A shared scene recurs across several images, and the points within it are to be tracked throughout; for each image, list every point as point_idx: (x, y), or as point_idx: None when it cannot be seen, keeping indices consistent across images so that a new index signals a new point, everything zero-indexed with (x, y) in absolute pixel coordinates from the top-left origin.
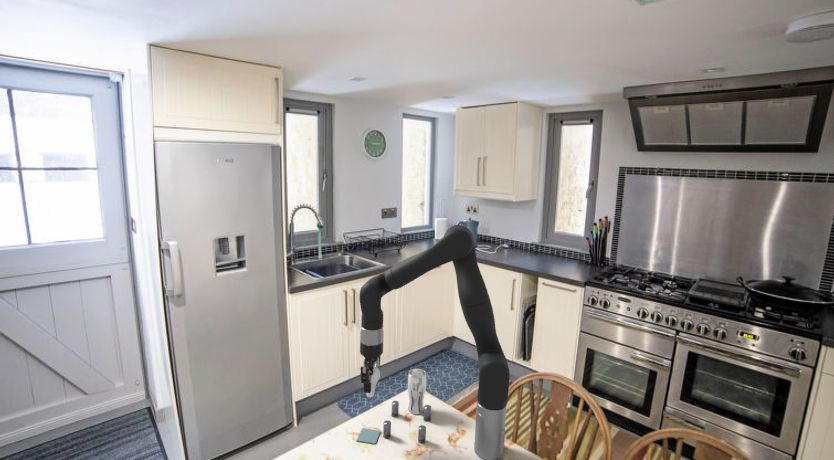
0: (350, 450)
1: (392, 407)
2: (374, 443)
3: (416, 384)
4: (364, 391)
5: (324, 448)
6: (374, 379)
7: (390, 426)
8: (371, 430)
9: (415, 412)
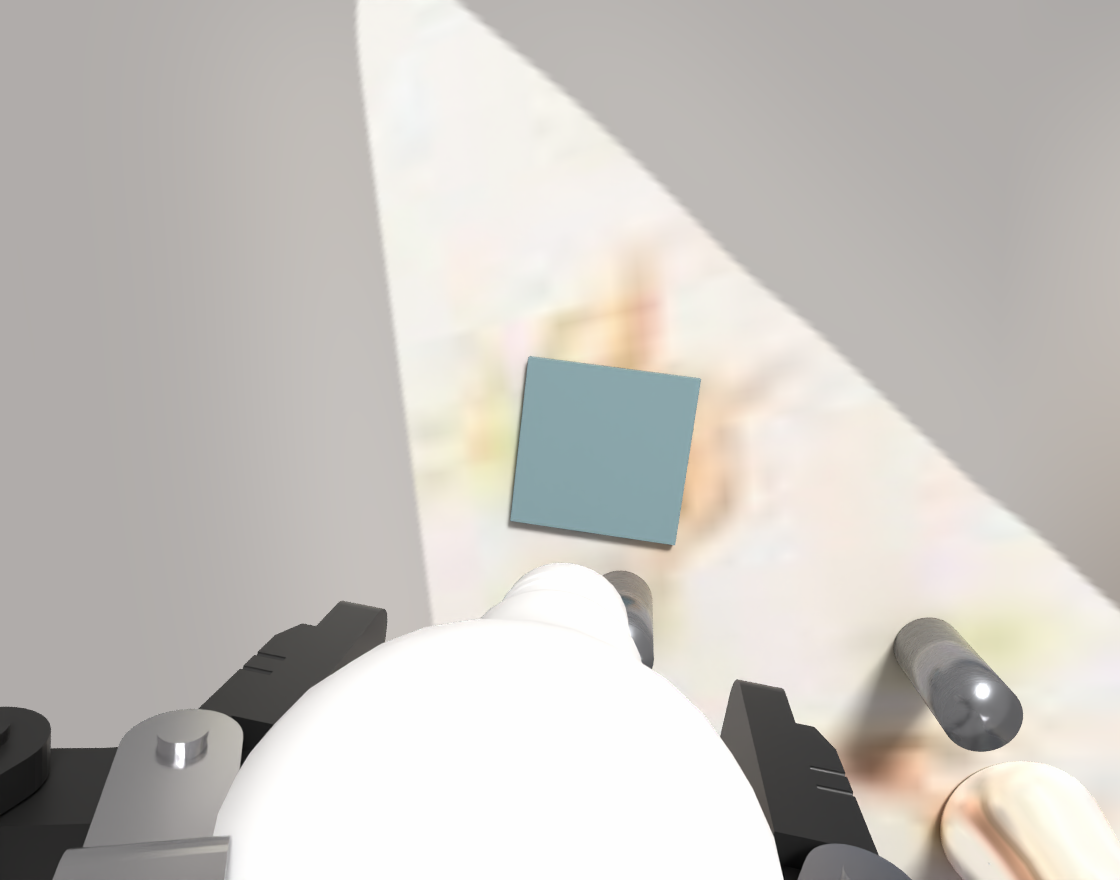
0: (417, 328)
1: (941, 668)
2: (511, 512)
3: None
4: (295, 627)
5: (412, 94)
6: None
7: None
8: (671, 467)
9: (949, 834)
